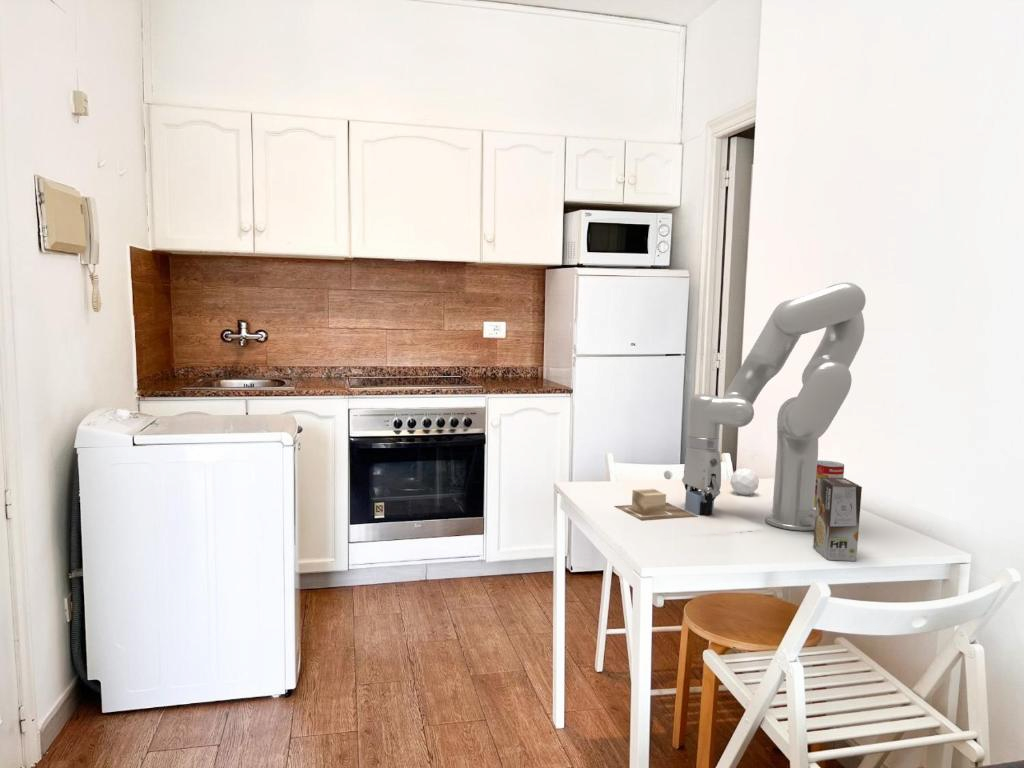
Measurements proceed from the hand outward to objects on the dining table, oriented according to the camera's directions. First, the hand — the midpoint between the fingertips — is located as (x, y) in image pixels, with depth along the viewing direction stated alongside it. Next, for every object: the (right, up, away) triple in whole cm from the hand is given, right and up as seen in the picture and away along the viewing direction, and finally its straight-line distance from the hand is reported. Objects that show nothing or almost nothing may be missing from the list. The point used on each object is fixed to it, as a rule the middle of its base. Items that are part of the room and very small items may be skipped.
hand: (698, 513), depth 190 cm
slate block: (0, -1, 0) cm, 1 cm away
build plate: (-11, 0, -1) cm, 11 cm away
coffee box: (+22, -4, -28) cm, 36 cm away
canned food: (+39, -1, +16) cm, 42 cm away
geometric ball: (+20, +1, +27) cm, 33 cm away
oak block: (-13, +1, -2) cm, 13 cm away
